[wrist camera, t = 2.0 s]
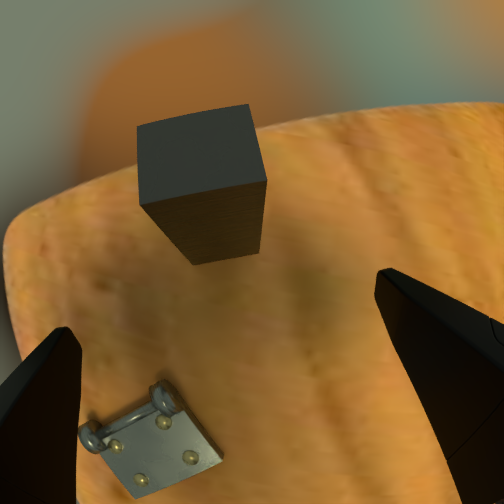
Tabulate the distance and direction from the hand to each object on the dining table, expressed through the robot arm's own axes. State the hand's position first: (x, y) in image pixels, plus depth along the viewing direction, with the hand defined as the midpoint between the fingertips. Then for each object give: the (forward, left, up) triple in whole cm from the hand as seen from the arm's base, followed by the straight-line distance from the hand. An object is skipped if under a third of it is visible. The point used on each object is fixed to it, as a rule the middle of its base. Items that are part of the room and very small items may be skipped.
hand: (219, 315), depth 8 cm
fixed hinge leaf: (-10, +4, -12) cm, 16 cm away
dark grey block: (+6, +2, -12) cm, 14 cm away
